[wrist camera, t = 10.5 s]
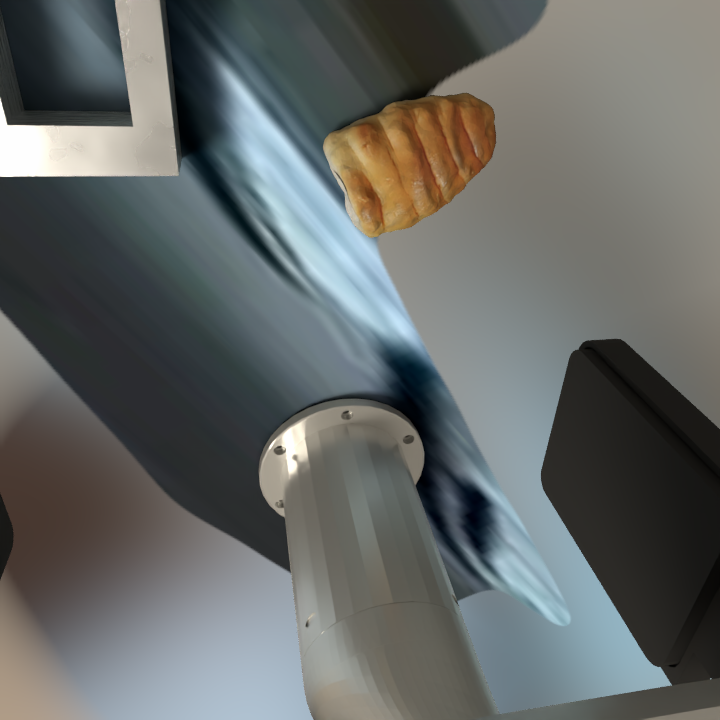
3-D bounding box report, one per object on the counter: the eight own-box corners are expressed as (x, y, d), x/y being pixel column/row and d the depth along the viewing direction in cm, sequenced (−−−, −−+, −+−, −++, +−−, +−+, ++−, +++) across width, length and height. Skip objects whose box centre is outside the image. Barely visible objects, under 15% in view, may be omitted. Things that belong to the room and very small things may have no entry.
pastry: (468, 54, 32) (494, 67, 29) (501, 167, 36) (527, 189, 33) (311, 136, 33) (320, 157, 30) (359, 238, 37) (372, 265, 34)
